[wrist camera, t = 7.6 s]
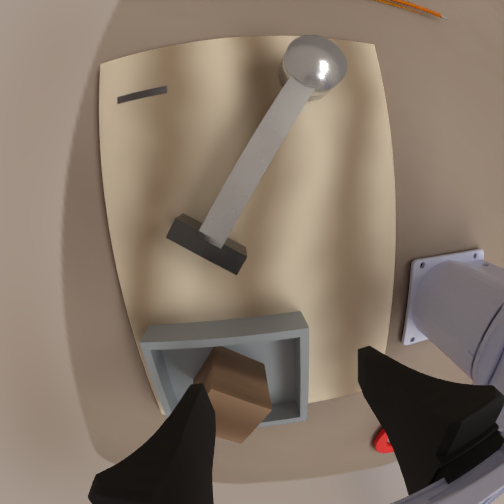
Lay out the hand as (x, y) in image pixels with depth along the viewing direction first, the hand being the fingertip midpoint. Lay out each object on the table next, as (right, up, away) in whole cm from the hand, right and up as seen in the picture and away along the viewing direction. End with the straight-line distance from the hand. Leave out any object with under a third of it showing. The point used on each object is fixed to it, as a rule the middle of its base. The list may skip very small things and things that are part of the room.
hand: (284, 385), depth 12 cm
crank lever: (-1, +13, +5) cm, 14 cm away
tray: (-3, -3, +9) cm, 10 cm away
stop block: (-3, -3, +8) cm, 9 cm away
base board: (-1, +7, +7) cm, 10 cm away
